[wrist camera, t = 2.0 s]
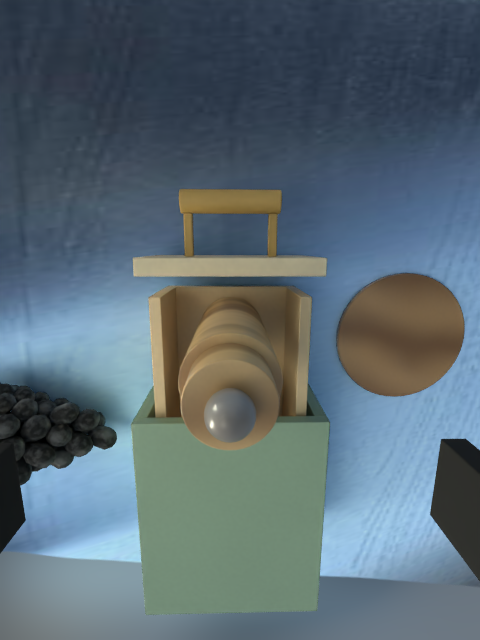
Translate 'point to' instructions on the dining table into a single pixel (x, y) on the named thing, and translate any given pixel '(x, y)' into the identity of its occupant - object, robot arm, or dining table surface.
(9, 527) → the robot arm
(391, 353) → the cork coaster
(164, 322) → the drawer
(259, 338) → the pepper mill
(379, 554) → the dining table surface
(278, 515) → the cabinet
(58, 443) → the fruit
